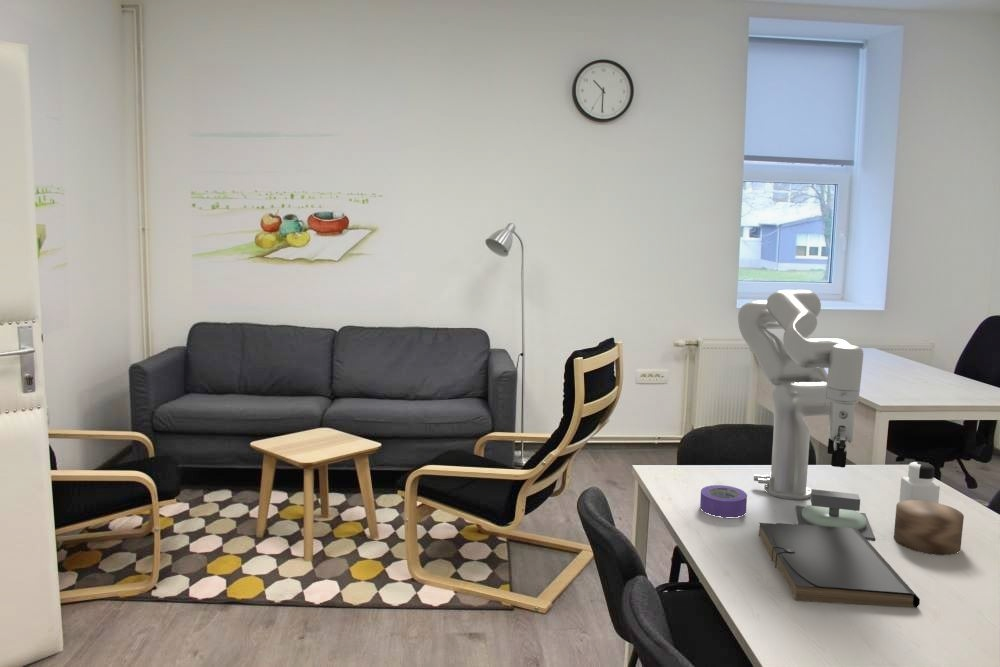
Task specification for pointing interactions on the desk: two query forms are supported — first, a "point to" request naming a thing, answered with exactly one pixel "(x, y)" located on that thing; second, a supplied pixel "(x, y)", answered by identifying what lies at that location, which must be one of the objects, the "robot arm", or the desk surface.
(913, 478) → the medicine bottle
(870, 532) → the mat
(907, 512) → the canister
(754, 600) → the desk surface
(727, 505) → the tape roll
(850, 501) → the cover
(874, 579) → the file folder
